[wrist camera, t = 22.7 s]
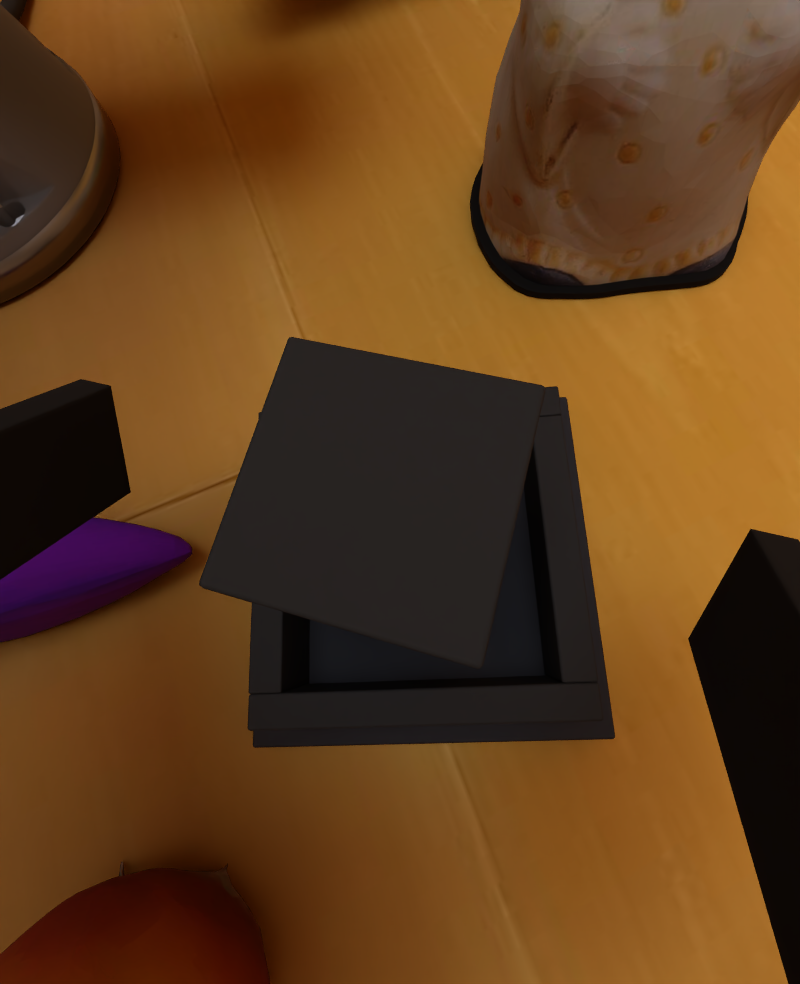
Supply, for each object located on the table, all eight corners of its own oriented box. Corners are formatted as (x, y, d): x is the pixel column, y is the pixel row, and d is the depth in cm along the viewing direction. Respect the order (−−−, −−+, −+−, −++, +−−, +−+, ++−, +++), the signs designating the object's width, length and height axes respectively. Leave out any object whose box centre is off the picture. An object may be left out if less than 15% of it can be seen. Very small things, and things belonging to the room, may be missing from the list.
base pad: (271, 431, 22) (231, 387, 18) (562, 407, 21) (585, 355, 17) (262, 742, 18) (211, 770, 15) (607, 733, 17) (649, 761, 13)
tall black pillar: (332, 611, 18) (195, 586, 9) (371, 481, 20) (287, 334, 10) (469, 651, 18) (482, 670, 8) (501, 512, 19) (547, 384, 9)
